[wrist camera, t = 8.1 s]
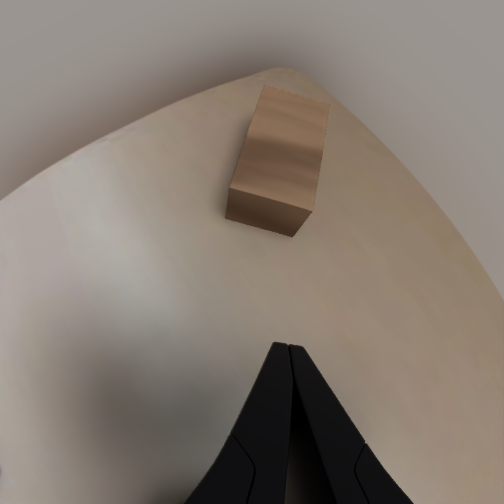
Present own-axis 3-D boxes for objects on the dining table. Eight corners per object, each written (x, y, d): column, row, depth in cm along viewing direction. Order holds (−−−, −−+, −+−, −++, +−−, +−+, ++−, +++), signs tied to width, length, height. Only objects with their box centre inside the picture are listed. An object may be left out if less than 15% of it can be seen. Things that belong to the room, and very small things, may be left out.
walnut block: (312, 211, 18) (329, 104, 21) (229, 187, 18) (263, 85, 21) (292, 237, 23) (311, 142, 26) (225, 219, 23) (254, 125, 25)
